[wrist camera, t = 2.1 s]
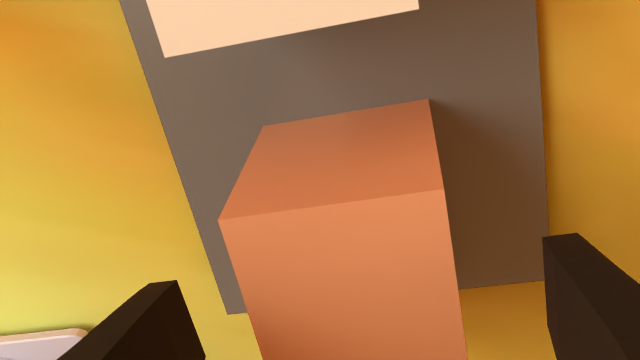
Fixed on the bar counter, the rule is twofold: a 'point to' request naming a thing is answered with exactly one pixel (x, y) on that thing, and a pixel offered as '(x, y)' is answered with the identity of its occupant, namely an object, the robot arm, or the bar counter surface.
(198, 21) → the cream block
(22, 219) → the bar counter surface
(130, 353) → the robot arm
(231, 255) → the terracotta block
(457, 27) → the baseplate
